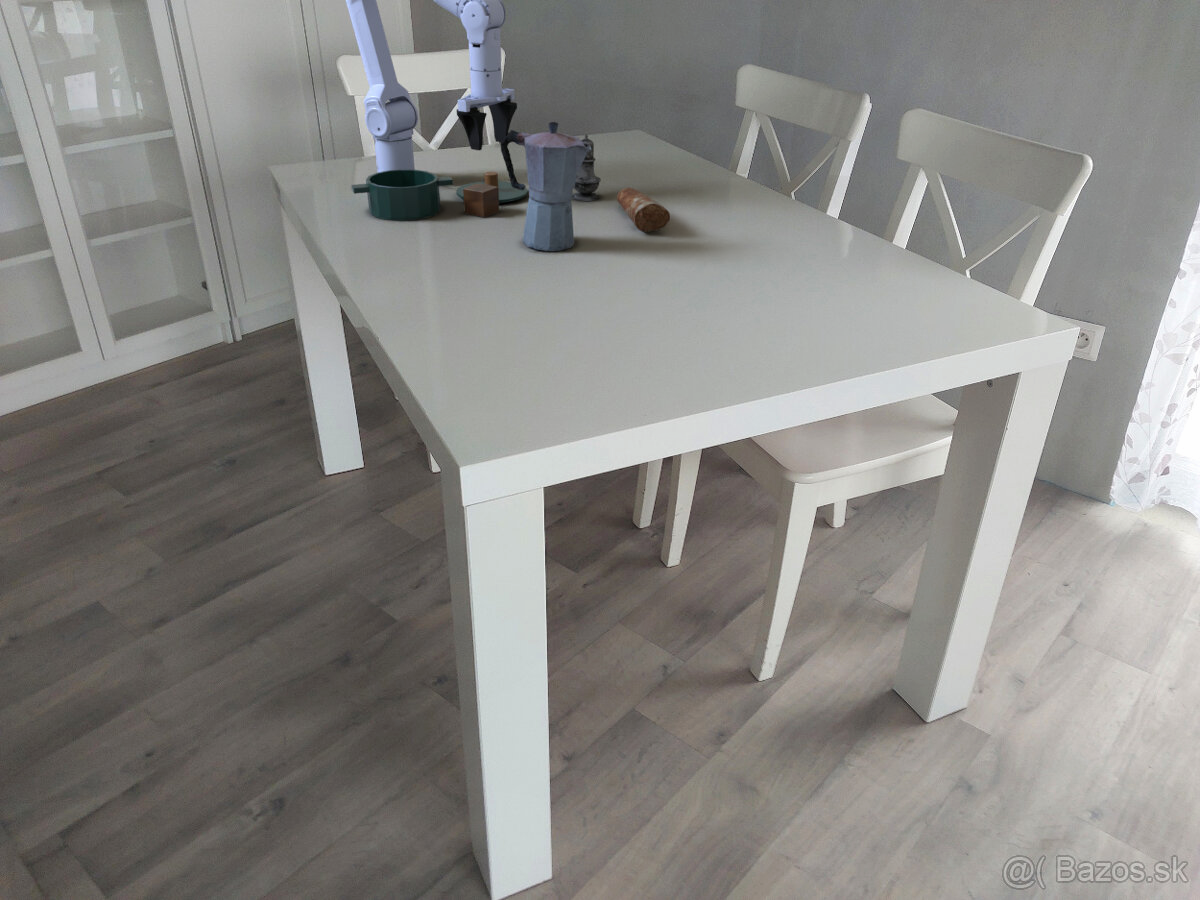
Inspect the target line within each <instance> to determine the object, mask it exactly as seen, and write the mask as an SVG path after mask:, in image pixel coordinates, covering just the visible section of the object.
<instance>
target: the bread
mask: <svg viewBox="0 0 1200 900" xmlns="http://www.w3.org/2000/svg"><path fill="white" fill-rule="evenodd" d="M616 201H617V203H618V205H620V207H621V208H622V210H623V212H624V213H626V215H627V216H628V218H629V219H630V220H631V221H632V223H633V225H634V226H635V227H636V228H637V230H639V231H641V232H644V233H648V232H656V231H660V230H661V229H663V228H665V227H666V226H667V224H668V223H669V221H670V220H671V214H670V212H669V211H668V209H667V208H665V207H664V206H663V205H662V203H659V202H658V201H656V200H655V199H653V198H652V197H650V196H648V195H646V194H645V193H643V192H642V191H640V190H638V189H635V188H634V187H624V188H623V189H621V190H619V192H618V193H617V196H616Z"/></svg>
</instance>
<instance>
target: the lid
mask: <svg viewBox="0 0 1200 900" xmlns="http://www.w3.org/2000/svg"><path fill="white" fill-rule="evenodd" d="M478 183H481V184H486V185H491V186H496V187H498V190H499V204H504V203H508V202H512V201H518V200H521V199H523V198H525V197H526V196H527V195H528V188H527V186H526V187H525V189H524V190H519V189H517V188H513V187H512V185H511V181H504V180H502V181H501V180H499V173H498V172H497V171H486V172H484V181H483V180H482V181H475V182H470V183H466V184H463V185H460V186H459V187H457V189H456V190H455V192H456V193H455V194H456V196H457V198H460V199H462V200H464V195H463V188H466V187H469V186H472V185H475V184H478Z"/></svg>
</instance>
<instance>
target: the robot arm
mask: <svg viewBox="0 0 1200 900" xmlns="http://www.w3.org/2000/svg"><path fill="white" fill-rule="evenodd" d="M432 1H433V2H434V3H435V4H437V5H438V6H440V7H441V8H443V9H444V10H446V11H447V12H448V13H451V14H452V15H454V16H455V17H457V19H460V21H461V24H462V26H463V28H464V29H465V31H466V39H467V40H468V55H469V56H468V57H469V76H470V78H469V80H470V93H469V94H468V95H466V96H464V97H462V98H460V99H457V109H456V116H457V117H458V119H459V121H460V122H461V124H462V126H463V129H464V131H465V134H466V137H467V140H468V143H469V146H470V150H474V151H482V149H483V144H484V143H483V141H484V140H483V138H484V126H485V122H486V119H487V118H486V117H487V115H488V114H487V112H481V111H480V110H479V109H480V108H485V107H488V108H489V112H490V115H491V119H492V125H493V134H494V135H493V136H494V140H495V143H496V142H497V143H501V141H502V140H504V137H505V136H507V135H508V133H509V132H510V131H509V130H510V126H511V122H512V119H513V117H514V115H515V112H516V111H517V109H518V103H517V102H512V101H515V89H513V88H503V75H502V72H503V71H502V43H501V42H502V41H501V39H502V38H501V28H502V26H504V24H505V22H506V18H507V11H506V7H505V4H504V3H503V1H502V0H432ZM345 4H346V7H347V10H348V13H349V14H348V15H349V17H350V21H351V26H352V28H353V32H354V36H355V39H356V44H357V47H358V50H359V54H360V57H361V61H362V64H363V68H364V72H365V76H366V79H367V83H368V86H369V89H368V91H367V93H366V95H365V96H364V99H363V106H364V110H365V111H364V112H365V113H364V122H365V126H366V128H367V130H368V132H369V133H370V134H371V135H372V139H373V140H375V143H374V151H375V152H374V153H375V161H376V171H377V172H376V173H378V172H383V171H389V170H402V169H404V170H416V167H415V158H414V155H415V154H414V144H413V136H414V129H415V128H416V127H417V125H418V122H419V113H418V109H417V107H416V105H415V104H414V103H413V101H412V99H411V97H410V93H409V91H408V89H407V88H405V87H404V86H403V85H401V84H400V83H399V81H398V78H397V74H396V71H395V66H394V63H393V59H392V54H391V51H390V49H389V44H388V40H387V36H386V32H385V29H384V25H383V20H382V18H381V14H380V10H379V6H378V3H377V0H345Z"/></svg>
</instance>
